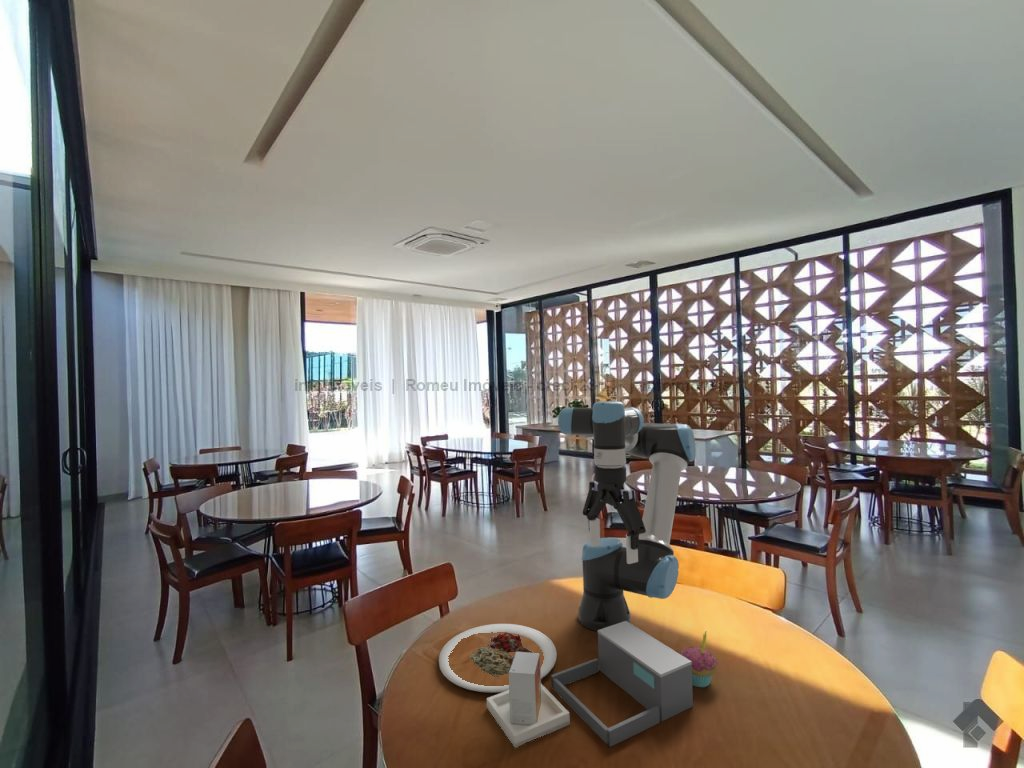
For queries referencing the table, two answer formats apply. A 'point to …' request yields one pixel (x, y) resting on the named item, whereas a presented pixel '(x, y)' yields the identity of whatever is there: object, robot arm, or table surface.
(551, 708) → the tray
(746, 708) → the table surface
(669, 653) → the printer
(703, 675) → the cupcake
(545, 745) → the table surface
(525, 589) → the table surface
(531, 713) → the small box
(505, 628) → the plated food
